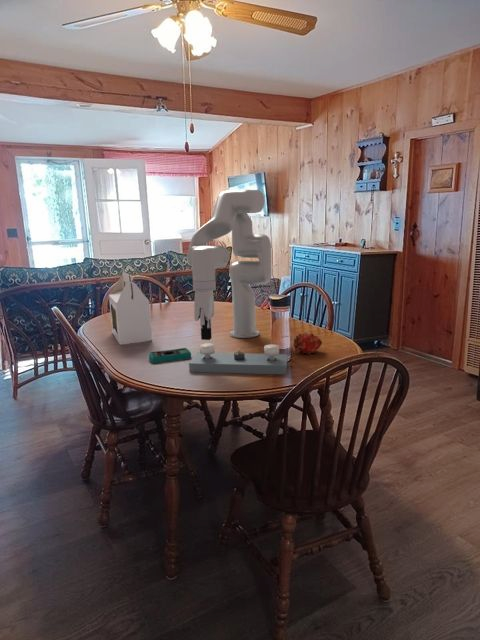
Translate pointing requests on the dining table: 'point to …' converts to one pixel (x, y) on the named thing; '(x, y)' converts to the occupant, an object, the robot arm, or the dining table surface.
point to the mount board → (239, 364)
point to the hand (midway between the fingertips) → (206, 339)
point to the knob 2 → (271, 351)
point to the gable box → (129, 312)
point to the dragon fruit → (307, 343)
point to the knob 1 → (207, 350)
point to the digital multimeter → (169, 355)
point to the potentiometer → (239, 355)
